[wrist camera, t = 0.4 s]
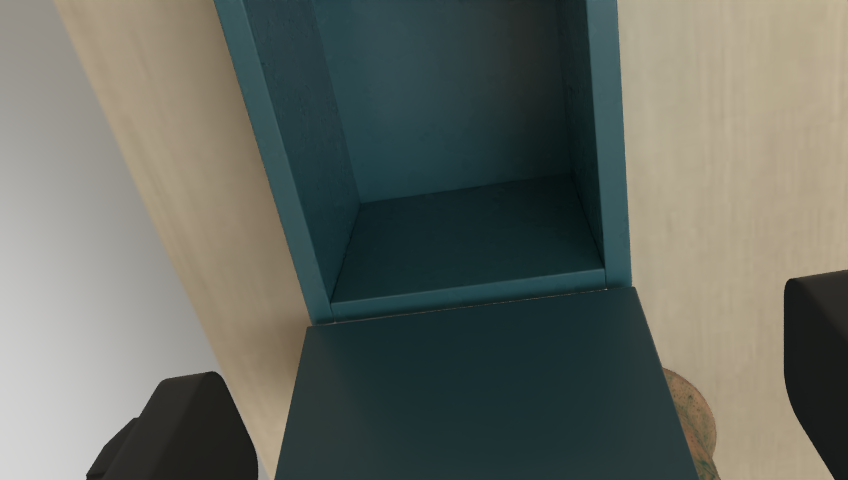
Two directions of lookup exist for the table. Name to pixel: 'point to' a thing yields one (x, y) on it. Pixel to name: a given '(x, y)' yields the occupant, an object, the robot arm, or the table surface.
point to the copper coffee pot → (695, 424)
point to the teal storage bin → (438, 148)
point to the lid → (487, 396)
